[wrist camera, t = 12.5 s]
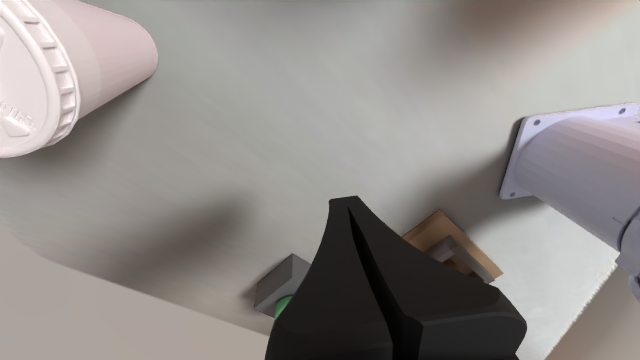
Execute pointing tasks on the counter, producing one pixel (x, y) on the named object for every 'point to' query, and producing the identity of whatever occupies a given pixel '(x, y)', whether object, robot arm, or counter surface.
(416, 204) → the counter surface
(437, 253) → the wooden fixture board
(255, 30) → the counter surface
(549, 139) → the robot arm
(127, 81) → the smoothie
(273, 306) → the button box
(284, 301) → the button
